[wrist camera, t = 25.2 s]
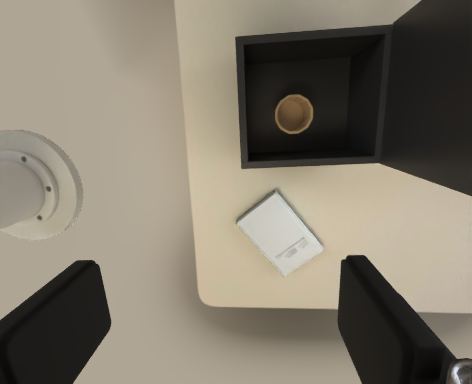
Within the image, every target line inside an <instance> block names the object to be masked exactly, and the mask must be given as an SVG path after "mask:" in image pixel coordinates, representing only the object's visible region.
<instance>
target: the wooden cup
mask: <svg viewBox="0 0 472 384" xmlns="http://www.w3.org/2000/svg"><path fill="white" fill-rule="evenodd" d="M312 119H313V107H312V105H311V103H310V102H309V100H308V99H307V98H305V97H303V96H301V95H300V94H297V95H288V96H287V97H285V98H284V99H282V100H281V101H279V102H278V103H277V104H276V106H275V107H274V109H273V111H272V122H273V123H274V125H275V127H276V128H277V129H278V130H280V131H282V132H284V133H288V134H297V133H300V132H302V131H303V130H305V129H307V128H308V126H309V125H310V123H311V121H312Z"/></svg>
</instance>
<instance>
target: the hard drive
mask: <svg viewBox="0 0 472 384" xmlns="http://www.w3.org/2000/svg"><path fill="white" fill-rule="evenodd" d="M236 225H237V226H238V227H239V228H240V229H241V230H242V231H243V232H244V233H245V235H246V236H247V237H248V238H249V239H250V240H251V241H252V242H253V243H254V245H255V246H256V247H257V248H258V249H259V250H260V251H261V252H262V253H263V255H264V256H265V257H266V258H267V259H268V260H269V261H270V262H271V263H272V265H273V266H274V267H275V268H276V269H277V270H278V271H279V272H280V273H281V275H282V276H283V277H286V276H287V275H289V274H290V273H292V272H293V271H295V270H296V269H297V268H299V267H300V266H302V265H303V264H305V263H306V262H308V261H309V260H311V259H312V258H314V257H315V256H317V255H318V254H320V253H321V252H322V251H323V250H324V248H323V246H322V245H321V244H320V243H319V242H318V240H317V239H316V238H315V237H314V235H313V234H312V233H311V232H310V231H309V229H308V228H307V227H306V226H305V225H304V224H303V222H302V221H301V220H300V219H299V218H298V216H297V215H296V214H295V213H294V212H293V210H292V209H291V208H290V207H289V206H288V204H287V203H286V202H285V201H284V200H283V198H282V197H281V196H280V195H279V194H278V192H277V191H276V190H275V191H273V192H272V193H271V194H269V195H268V196H267V197H266V198H264V199H263V200H262V201H260V202H259V203H258V204H257V205H255V206H254V207H253V208H252V209H250V210H249V211H248V212H246V213H245V214H244V215H243V216H241V217H240V218H239V219H238V220H237V221H236Z"/></svg>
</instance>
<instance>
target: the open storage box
mask: <svg viewBox="0 0 472 384" xmlns="http://www.w3.org/2000/svg"><path fill="white" fill-rule="evenodd" d="M392 32H393V25H380V26H367V27H354V28H341V29H328V30H316V31H303V32H290V33H277V34H264V35H251V36H238V37H235V40H236V61H237V82H238V104H239V125H240V146H241V168H242V169H249V168H273V167H297V166H320V165H344V164H368V163H380V158H381V148H382V137H383V127H384V116H385V106H386V95H387V85H388V74H389V64H390V53H391V43H392ZM297 94H300V95H301V96H303V97H305V98H307V99H308V100H309V102H310V103H311V105H312V107H313V119H312V121H311V123H310V125H309V126H308V128H307V129H305V130H303V131H302V132H300V133H297V134H288V133H284V132H282V131H280V130H278V129H277V128H276V127H275V125H274V123H273V122H272V111H273V109H274V107H275V106H276V104H277V103H278V102H279V101H281V100H282V99H284V98H285V97H287V96H288V95H297Z"/></svg>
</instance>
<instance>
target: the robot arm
mask: <svg viewBox="0 0 472 384" xmlns="http://www.w3.org/2000/svg"><path fill="white" fill-rule="evenodd" d="M58 200H59V192H58V187H57V184H56V181H55V179H54V177H53V175H52V173H51V172H50V170H49V169H48V168H47V167H46V165H45V164H44V163H42V162H41V161H40V160H39V159H38V158H36V157H35V156H33V155H31V154H29V153H27V152H24V151H20V150H11V149H9V150H0V230H1V229H4V228H6V227H8V226H11V225H16V226H20V227H30V226H35V225H38V224H40V223H42V222H44V221H46V220H48V219H49V218H50V217H51V216H52V215H53V213H54V212H55V210H56V208H57V205H58ZM110 327H111V318H110V313H109V308H108V304H107V299H106V294H105V290H104V285H103V280H102V276H101V272H100V267H99V265H98V264H96V263H95V261H93V260H79V261H76V262H74V263H73V264H71V265H70V266H69V267H68V268H66V269H65V270H64V271H63V272H61V273H60V274H59V275H58V276H56V277H55V278H54V279H52V280H51V281H50V282H48V283H47V284H46V285H45V286H43V287H42V288H41V289H40V290H38V291H37V292H36V293H34V294H33V295H32V296H31V297H29V298H28V299H27V300H25V301H24V302H23V303H22V304H20V305H19V306H18V307H16V308H15V309H14V310H13V311H11V312H10V313H9V314H8V315H6V316H5V317H4V318H2V319H1V320H0V384H73V382H74V381H75V380H76V378H77V377H78V375H79V374H80V372H81V371H82V369H83V368H84V366H85V365H86V364H87V362H88V361H89V359H90V357H91V356H92V355H93V353H94V352H95V350H96V349H97V347H98V346H99V345H100V343H101V342H102V340H103V339H104V337H105V336H106V334H107V333H108V331H109V330H110ZM338 327H339V331H340V333H341V336H342V338H343V340H344V343H345V345H346V347H347V350H348V352H349V354H350V357H351V359H352V361H353V364H354V366H355V368H356V371H357V373H358V375H359V377H360V380H361V382H362V384H472V359H468V358H464V359H457V358H456V357H455V356H454V355H453V354H452V353H451V352H450V351H449V349H448V348H447V347H446V346H445V345H444V344H443V343H442V342H441V340H440V339H439V338H438V337H437V336H436V335H435V333H434V332H433V331H432V330H431V329H430V328H429V327H428V326H427V324H426V323H425V322H424V321H423V320H422V319H421V318H420V316H419V315H418V314H417V313H416V312H415V311H414V310H413V308H412V307H411V306H410V305H409V304H408V303H407V302H406V300H405V299H404V298H403V297H402V296H401V295H400V294H399V293H397V292H396V291H395V289H394V288H393V287H392V286H391V285H390V284H389V283H388V281H387V280H386V279H385V278H384V277H383V276H382V275H381V273H380V272H379V271H378V270H377V269H376V268H375V267H374V265H373V264H372V263H371V262H370V261H369V260H368V258H367V257H366V256H364V255H348V256H347V257H346V259H344V260H342V261H341V274H340V290H339V306H338Z"/></svg>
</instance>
